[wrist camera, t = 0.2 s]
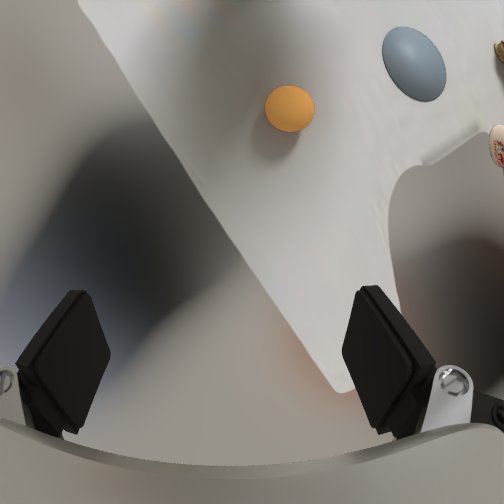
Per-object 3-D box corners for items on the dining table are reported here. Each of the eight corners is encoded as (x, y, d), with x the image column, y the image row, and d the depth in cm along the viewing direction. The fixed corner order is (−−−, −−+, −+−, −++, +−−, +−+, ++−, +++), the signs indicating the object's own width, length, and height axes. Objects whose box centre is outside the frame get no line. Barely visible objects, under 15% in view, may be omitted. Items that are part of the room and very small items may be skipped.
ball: (266, 85, 31) (271, 77, 26) (310, 93, 32) (324, 88, 26) (259, 127, 34) (264, 127, 28) (304, 135, 34) (316, 136, 29)
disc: (384, 14, 26) (384, 14, 25) (446, 47, 27) (447, 47, 27) (379, 83, 31) (379, 83, 31) (442, 112, 32) (443, 112, 32)
